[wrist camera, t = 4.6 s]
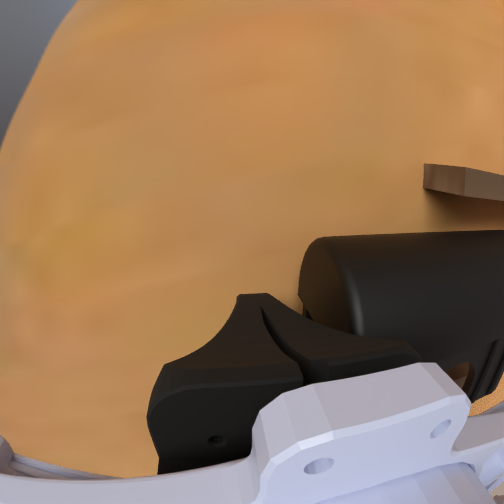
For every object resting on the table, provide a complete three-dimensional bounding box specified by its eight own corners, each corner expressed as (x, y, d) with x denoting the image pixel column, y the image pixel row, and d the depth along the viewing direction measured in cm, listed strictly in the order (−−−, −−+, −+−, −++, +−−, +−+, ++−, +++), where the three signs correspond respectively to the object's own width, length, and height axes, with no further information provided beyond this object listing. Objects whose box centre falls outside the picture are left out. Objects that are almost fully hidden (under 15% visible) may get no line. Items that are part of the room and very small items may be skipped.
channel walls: (489, 346, 17) (513, 366, 14) (389, 377, 16) (412, 408, 13) (524, 183, 14) (556, 190, 11) (424, 163, 13) (465, 167, 10)
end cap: (464, 215, 14) (560, 249, 7) (444, 330, 16) (513, 390, 9) (293, 218, 13) (369, 274, 6) (290, 359, 15) (331, 466, 8)
